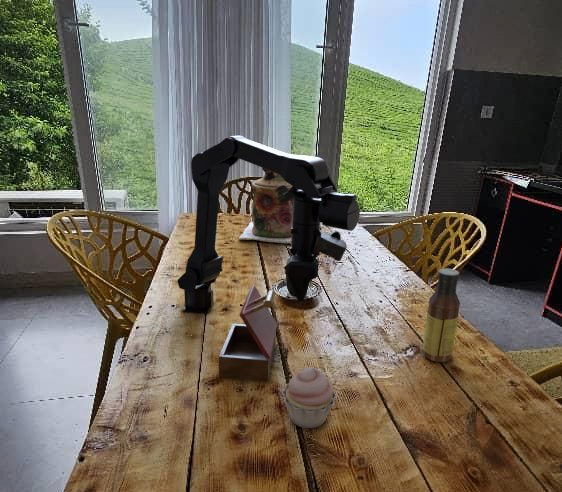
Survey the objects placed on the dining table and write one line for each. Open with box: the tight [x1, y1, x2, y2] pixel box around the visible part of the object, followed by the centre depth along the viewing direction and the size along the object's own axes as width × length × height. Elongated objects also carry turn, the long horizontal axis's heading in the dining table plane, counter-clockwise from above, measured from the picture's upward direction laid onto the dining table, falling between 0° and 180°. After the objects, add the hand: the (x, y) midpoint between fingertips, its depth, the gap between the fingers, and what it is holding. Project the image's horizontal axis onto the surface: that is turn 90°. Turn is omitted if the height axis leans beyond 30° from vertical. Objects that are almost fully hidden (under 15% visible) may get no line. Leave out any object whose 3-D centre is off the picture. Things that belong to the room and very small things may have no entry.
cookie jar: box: [238, 167, 293, 245], centre depth 173 cm, size 25×25×32 cm
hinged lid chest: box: [218, 323, 277, 383], centre depth 92 cm, size 10×14×5 cm
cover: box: [239, 284, 278, 359], centre depth 88 cm, size 10×14×5 cm
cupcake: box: [281, 366, 338, 429], centre depth 75 cm, size 9×9×10 cm
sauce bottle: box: [422, 267, 461, 363], centre depth 93 cm, size 6×6×20 cm
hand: (301, 292), depth 96 cm, fingers open, 9 cm apart
